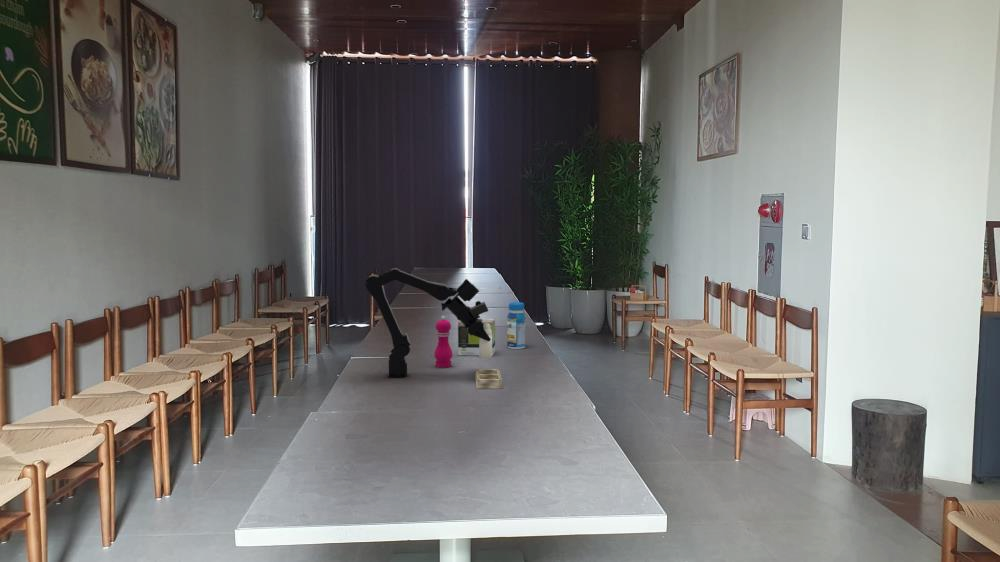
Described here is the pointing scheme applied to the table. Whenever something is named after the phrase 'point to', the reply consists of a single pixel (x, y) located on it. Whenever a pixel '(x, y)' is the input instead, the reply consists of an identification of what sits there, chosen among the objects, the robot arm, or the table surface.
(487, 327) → the white pawn figure
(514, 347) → the beverage bottle
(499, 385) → the divided wooden tray
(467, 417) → the table surface
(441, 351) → the pepper mill
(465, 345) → the tea box
